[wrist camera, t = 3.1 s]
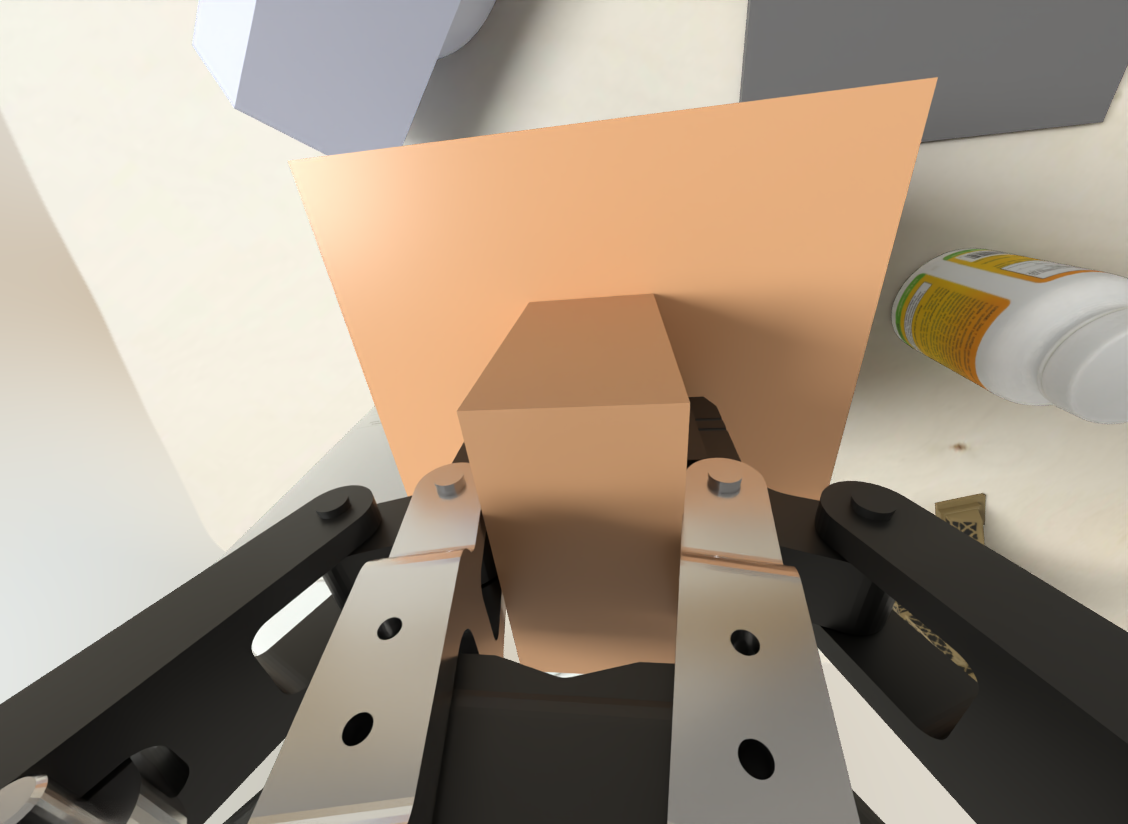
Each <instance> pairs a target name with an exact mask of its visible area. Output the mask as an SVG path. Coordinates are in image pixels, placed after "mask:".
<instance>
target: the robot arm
mask: <svg viewBox="0 0 1128 824" xmlns="http://www.w3.org/2000/svg"><path fill="white" fill-rule="evenodd" d="M688 398H689V401H690V416H689V434H688V452H687V470H686V487H685V505H684V514H683V516H682V534H681V554H680V574H679V593H678V608H677V627H676V647H675V664H674V663H653V662H637V663H632V664H628V665H623V666H619V667H614V668H610V669H605V670H601V671H596V672H592V673H587V674H583V675H578V676H574V677H567V678H565V677H558V676H554V675H552V674H549V673H546V672H543V671H540V670H537V669H534V668H531V667H528V666H525V665H523V664H520V663H517V662H514V661H511V660H508V659H505V658H503V649H504V647H503V646H504V632H505V615H506V605H505V601H504V597H503V593H502V589H501V585H500V581H499V578H498V574H497V570H496V566H495V562H494V558H493V554H492V550H491V546H490V542H489V538H488V534H487V530H486V526H485V522H484V518H483V514H482V510H481V506H480V502H479V498H478V494H477V490H476V486H475V482H474V478H473V474H472V470H471V466H470V463H469V459H468V455H467V451H466V447H465V443H464V442H463V444H462V446H461V448H460V449H459V451H458V453H457V455H456V457H455V458H454V460H453V462H452V464H448V465H444V466H441V467H439V468H437V469H434V470H433V471H431V472H429V473H428V474H426V475H425V476H424V477H423V478H422V479H421V480H420V481H419V482H418V484H417V486H416V487H415V490H414V493H413V495H412V496H408V497H404V498H400V499H395V500H391V501H386V502H382V503H378V504H377V503H376V501H375V498H374V496H373V494H372V491H371V490H370V489H369V488H367V487H364V486H360V485H349V486H343V487H339V488H335V489H332V490H330V491H327V492H325V493H323V494H321V495H319V496H317V497H316V498H314V499H312V500H311V501H309V502H308V503H306V504H305V505H303V506H302V507H300V508H299V509H297V510H296V511H294V512H293V513H291V514H290V515H288V516H287V517H285V518H284V519H282V520H280V521H279V522H277V523H276V524H274V525H273V526H271V527H270V528H268V529H267V530H265V531H264V532H262V533H261V534H259V535H258V536H256V537H255V538H253V539H252V540H250V541H249V542H247V543H245V544H244V545H242V546H241V547H239V548H238V549H236V550H235V551H233V552H232V553H230V554H229V555H227V556H226V557H224V558H223V559H221V560H220V561H218V562H217V563H215V564H213V565H212V566H211V567H209V568H207V569H206V570H204V571H203V572H201V573H200V574H198V575H197V576H195V577H194V578H192V579H191V580H189V581H188V582H186V583H185V584H183V585H181V586H180V587H179V588H177V589H175V590H174V591H172V592H171V593H169V594H168V595H166V596H165V597H163V598H162V599H160V600H159V601H157V602H156V603H154V604H153V605H151V606H149V607H148V608H146V609H145V610H143V611H142V612H140V613H139V614H137V615H136V616H134V617H133V618H132V619H130V620H128V621H127V622H125V623H124V624H122V625H121V626H119V627H117V628H116V629H114V630H113V631H111V632H110V633H108V634H107V635H105V636H104V637H102V638H101V639H99V640H98V641H96V642H95V643H93V644H92V645H90V646H89V647H87V648H86V649H84V650H82V651H81V652H80V653H78V654H77V655H75V656H73V657H72V658H70V659H69V660H67V661H66V662H64V663H63V664H61V665H60V666H58V667H57V668H55V669H54V670H52V671H50V672H49V673H47V674H46V675H44V676H43V677H41V678H40V679H38V680H37V681H35V682H34V683H32V684H31V685H29V686H28V687H26V688H25V689H23V690H22V691H20V692H18V693H17V694H15V695H14V696H12V697H11V698H9V699H8V700H6V701H5V702H3V703H2V704H0V824H204V823H205V821H206V820H207V819H208V818H209V817H210V816H211V815H212V814H213V813H214V812H215V811H216V810H217V809H218V808H219V807H220V806H221V805H222V804H223V803H224V802H225V801H226V799H227V798H228V797H229V796H230V795H231V794H232V793H233V792H234V791H235V790H236V789H237V788H238V787H239V786H240V785H241V783H243V782H244V781H245V779H246V778H247V777H248V776H249V775H250V774H251V773H252V772H253V771H254V770H255V769H256V768H257V767H258V766H259V765H260V764H261V763H262V762H263V761H264V760H265V758H266V757H267V756H268V755H269V754H270V753H271V752H272V751H273V750H274V749H275V748H276V747H277V746H278V745H279V744H280V743H281V742H282V741H283V740H284V739H285V738H286V739H285V741H284V743H283V745H282V748H281V750H280V752H279V754H278V757H277V759H276V761H275V763H274V766H273V768H272V770H271V772H270V775H269V777H268V779H267V781H266V784H265V786H264V788H263V789H262V790H261V791H259V792H258V793H257V794H256V795H255V796H254V797H252V798H251V799H250V800H249V801H248V802H247V803H246V804H245V805H243V806H242V807H241V808H240V809H239V810H238V811H237V812H235V813H234V814H233V815H232V816H231V817H230V818H229V819H228V820H226V822H224V823H223V824H885V823H884V822H883V821H882V820H881V819H880V818H879V817H878V816H877V815H876V814H875V813H874V812H873V811H872V810H871V809H870V807H869V806H868V805H867V804H866V803H865V802H864V801H863V800H862V799H861V798H860V797H859V796H858V795H857V794H856V793H855V792H854V791H853V790H852V788H851V784H850V780H849V775H848V771H847V767H846V763H845V759H844V755H843V751H842V747H841V743H840V738H839V735H838V731H837V726H836V722H835V718H834V714H833V710H832V706H831V702H830V697H829V693H828V689H827V685H826V681H825V677H824V673H823V669H822V665H821V660H820V656H819V652H818V648H819V649H820V651H821V652H822V653H823V654H824V655H825V656H826V657H827V658H828V659H829V661H830V662H831V663H832V664H833V665H834V666H835V667H836V668H837V669H838V671H839V672H840V673H841V674H842V675H843V676H844V677H845V678H846V679H847V680H848V682H849V683H850V684H851V685H852V686H853V687H854V688H855V689H856V690H857V692H858V693H859V694H860V695H861V696H862V697H863V698H864V699H865V700H866V701H867V702H868V704H869V705H870V706H871V707H872V708H873V709H874V710H875V711H876V713H877V714H878V715H879V716H880V717H881V718H882V719H883V720H884V721H885V723H886V724H887V725H888V726H889V727H890V728H891V729H892V730H893V731H894V733H895V734H896V735H897V736H898V737H899V738H900V739H901V740H902V741H903V743H904V744H905V745H906V746H907V747H908V748H909V749H910V750H911V751H912V753H913V754H914V755H915V756H916V757H917V758H918V759H919V760H920V761H921V762H922V764H923V765H924V766H925V767H926V768H927V769H928V770H929V771H930V772H931V774H932V775H933V776H934V777H935V778H936V779H937V780H938V781H939V782H940V784H941V785H942V786H943V787H944V788H945V789H946V790H947V791H948V792H949V793H950V795H951V796H952V797H953V798H954V799H955V800H956V801H957V802H958V804H959V805H960V806H961V807H962V808H963V809H964V810H965V811H966V812H967V813H968V815H969V816H970V817H971V818H972V819H973V820H974V821H975V822H976V823H977V824H1128V632H1126V631H1125V630H1123V629H1122V628H1120V627H1118V626H1117V625H1115V624H1113V623H1112V622H1110V621H1108V620H1107V619H1105V618H1103V617H1102V616H1100V615H1098V614H1097V613H1095V612H1094V611H1092V610H1090V609H1089V608H1087V607H1085V606H1084V605H1082V604H1080V603H1079V602H1077V601H1075V600H1074V599H1072V598H1070V597H1069V596H1067V595H1066V594H1064V593H1062V592H1061V591H1059V590H1057V589H1056V588H1054V587H1052V586H1051V585H1049V584H1047V583H1046V582H1044V581H1042V580H1041V579H1039V578H1038V577H1036V576H1034V575H1033V574H1031V573H1029V572H1028V571H1026V570H1024V569H1023V568H1021V567H1019V566H1018V565H1016V564H1014V563H1013V562H1011V561H1010V560H1008V559H1006V558H1005V557H1003V556H1001V555H1000V554H998V553H996V552H995V551H993V550H991V549H990V548H988V547H986V546H985V545H983V544H982V543H980V542H978V541H977V540H975V539H973V538H972V537H970V536H968V535H967V534H965V533H963V532H962V531H960V530H958V529H957V528H955V527H954V526H952V525H950V524H949V523H947V522H945V521H944V520H942V519H940V518H939V517H937V516H935V515H934V514H932V513H930V512H929V511H927V510H926V509H924V508H922V507H921V506H919V505H917V504H916V503H914V502H912V501H911V500H909V499H907V498H906V497H904V496H902V495H900V494H899V493H897V492H895V491H892V490H890V489H888V488H885V487H882V486H879V485H875V484H871V483H866V482H858V481H843V482H837V483H834V484H831V485H829V486H827V487H826V488H825V489H824V490H823V491H822V494H821V497H820V501H819V500H814V499H809V498H804V497H798V496H793V495H789V494H784V493H781V492H778V491H775V490H772V489H770V488H767V485H766V482H765V479H764V478H763V476H762V475H761V474H760V473H759V472H758V471H757V470H755V469H754V468H753V467H751V466H749V465H747V464H745V463H743V462H741V460H740V457H739V455H738V453H737V451H736V448H735V446H734V444H733V442H732V439H731V437H730V435H729V433H728V431H727V430H726V426H725V424H724V422H723V420H722V417H721V415H720V413H719V410H718V408H717V406H716V405H714V404H713V403H712V402H710V401H709V400H708V399H706V398H705V397H704V396H703V397H688ZM321 577H323V579H324V581H325V583H326V585H327V586H328V588H329V590H330V592H331V594H332V595H330V596H329V597H328V598H327V599H326V600H325V601H324V602H322V603H321V604H320V605H319V606H318V607H317V608H315V609H314V610H313V611H312V612H311V613H310V614H309V615H307V616H306V617H305V618H304V619H303V620H302V621H300V622H299V623H298V624H297V625H296V626H295V627H294V628H292V629H291V630H290V631H289V632H288V633H287V634H285V635H284V636H283V637H282V638H281V639H280V640H279V641H277V642H276V643H275V644H274V645H273V646H272V647H270V648H269V649H268V650H267V651H265V652H264V653H262V654H260V655H258V656H254V655H253V653H252V643H253V640H254V637H255V635H256V634H257V632H258V631H259V629H260V628H261V627H262V626H263V625H264V624H265V623H266V622H267V621H268V620H269V619H271V618H272V617H273V616H274V615H275V614H277V613H278V612H279V611H280V610H282V609H283V608H284V607H285V606H286V605H288V604H289V603H290V602H291V601H293V600H294V599H295V598H296V597H298V596H299V595H300V594H301V593H302V592H304V591H305V590H306V589H307V588H309V587H310V586H311V585H312V584H313V583H315V582H316V581H317V580H318V579H320V578H321ZM895 601H896V602H897V603H899V604H900V605H901V606H902V607H903V608H905V609H906V610H907V611H908V612H909V613H911V614H912V615H913V616H914V617H915V618H917V619H918V620H919V621H920V622H921V623H923V624H924V625H925V626H926V627H927V628H929V629H930V630H931V631H932V632H933V633H935V634H936V635H937V636H938V637H939V638H941V639H942V640H943V641H944V642H945V643H947V644H948V645H949V646H950V647H951V648H953V649H954V650H955V651H956V652H957V653H958V654H959V655H960V656H961V657H962V658H963V659H964V660H965V661H966V662H967V664H968V665H969V666H970V668H971V669H972V671H973V673H974V675H975V677H976V679H977V681H975V680H974V679H973V678H972V677H971V676H970V675H968V674H967V673H966V672H965V671H964V670H963V669H961V668H960V667H959V666H958V665H957V664H956V663H954V662H953V661H952V660H951V659H950V658H949V657H947V656H946V655H945V654H944V653H943V652H942V651H940V650H939V649H938V648H937V647H936V646H935V645H933V644H932V643H931V642H930V641H929V640H928V639H926V638H925V637H924V636H923V635H922V634H921V633H919V632H918V631H917V630H916V629H915V628H914V627H912V626H911V625H910V624H909V623H908V622H907V621H905V620H904V619H903V618H902V617H901V616H900V615H898V614H897V613H896V612H895V611H894V610H893V609H892V608H893V605H894V603H895ZM817 647H818V648H817Z"/></svg>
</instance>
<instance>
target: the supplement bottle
mask: <svg viewBox="0 0 1128 824" xmlns="http://www.w3.org/2000/svg"><path fill="white" fill-rule="evenodd" d="M891 318H892V324H893V328H894V330H895V332H896V334H897V335H898V337H899V338H900V339H901V340H902V341H903V342H904V343H906V344H907V345H909V346H910V347H912V348H914V349H915V350H917V351H919V352H920V353H922V354H924V355H926V356H928V357H930V358H931V359H933V360H935V361H937V362H939V363H940V364H942V365H944V366H946V367H947V368H949V369H951V370H953V371H955V372H956V373H958V374H960V375H962V376H963V377H965V378H967V379H969V380H970V381H972V382H974V383H976V384H977V385H979V386H981V387H983V388H984V389H986V390H988V391H990V392H991V393H993V394H995V395H998V396H1000V397H1002V398H1004V399H1006V400H1009V401H1012V402H1015V403H1019V404H1025V405H1037V406H1044V405H1055V406H1057V407H1059V408H1061V409H1063V410H1065V411H1067V412H1069V413H1071V414H1073V415H1076V416H1078V417H1080V418H1082V419H1084V420H1087V421H1090V422H1094V423H1101V424H1119V423H1126V422H1128V278H1125V277H1122V276H1118V275H1114V274H1111V273H1106V272H1101V271H1096V270H1090V269H1085V268H1080V267H1075V266H1070V265H1064V264H1059V263H1054V262H1049V261H1043V260H1039V259H1034V258H1028V257H1024V256H1018V255H1013V254H1008V253H1003V252H998V251H992V250H986V249H977V248H968V249H960V250H955V251H951V252H948V253H945V254H942V255H940V256H938V257H936V258H934V259H932V260H930V261H929V262H927V263H926V264H924V265H923V266H921V267H920V268H919V269H918V270H917V271H915V272H914V273H913V274H912V275H911V276H910V277H909V278H908V280H907V281H906V282H905V283H904V285H903V286H902V288H901V289H900V291H899V292H898V294H897V296H896V299H895V301H894V304H893V308H892V315H891Z"/></svg>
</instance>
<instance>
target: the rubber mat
mask: <svg viewBox="0 0 1128 824" xmlns="http://www.w3.org/2000/svg"><path fill="white" fill-rule="evenodd" d="M1127 65H1128V0H748V8H747V20H746V31H745V43H744V55H743V66H742V78H741V89H740V101H739V103H741V102H748V101H756V100H764V99H772V98H779V97H787V96H795V95H803V94H811V93H818V92H826V91H834V90H842V89H849V88H857V87H865V86H873V85H880V84H888V83H896V82H904V81H912V80H919V79H927V78H935V77H938V79H937V83H936V87H935V90H934V94H933V98H932V102H931V105H930V109H929V113H928V117H927V120H926V124H925V128H924V132H923V135H922V139H921V142H926V141H935V140H944V139H953V138H962V137H971V136H980V135H989V134H998V133H1008V132H1017V131H1026V130H1035V129H1044V128H1053V127H1062V126H1071V125H1080V124H1089V123H1098V122H1103V120H1104V118H1105V116H1106V113H1107V111H1108V109H1109V106H1110V104H1111V102H1112V99H1113V97H1114V95H1115V93H1116V90H1117V88H1118V86H1119V83H1120V81H1121V79H1122V77H1123V74H1124V72H1125V70H1126V67H1127Z"/></svg>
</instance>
